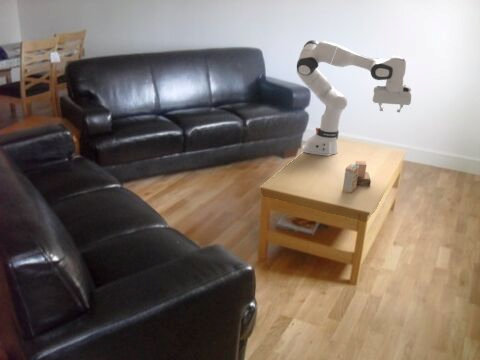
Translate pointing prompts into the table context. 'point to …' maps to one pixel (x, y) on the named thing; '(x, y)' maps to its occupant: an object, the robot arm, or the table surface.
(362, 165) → the terracotta block
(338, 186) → the table surface
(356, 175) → the supplement box
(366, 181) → the plinth
